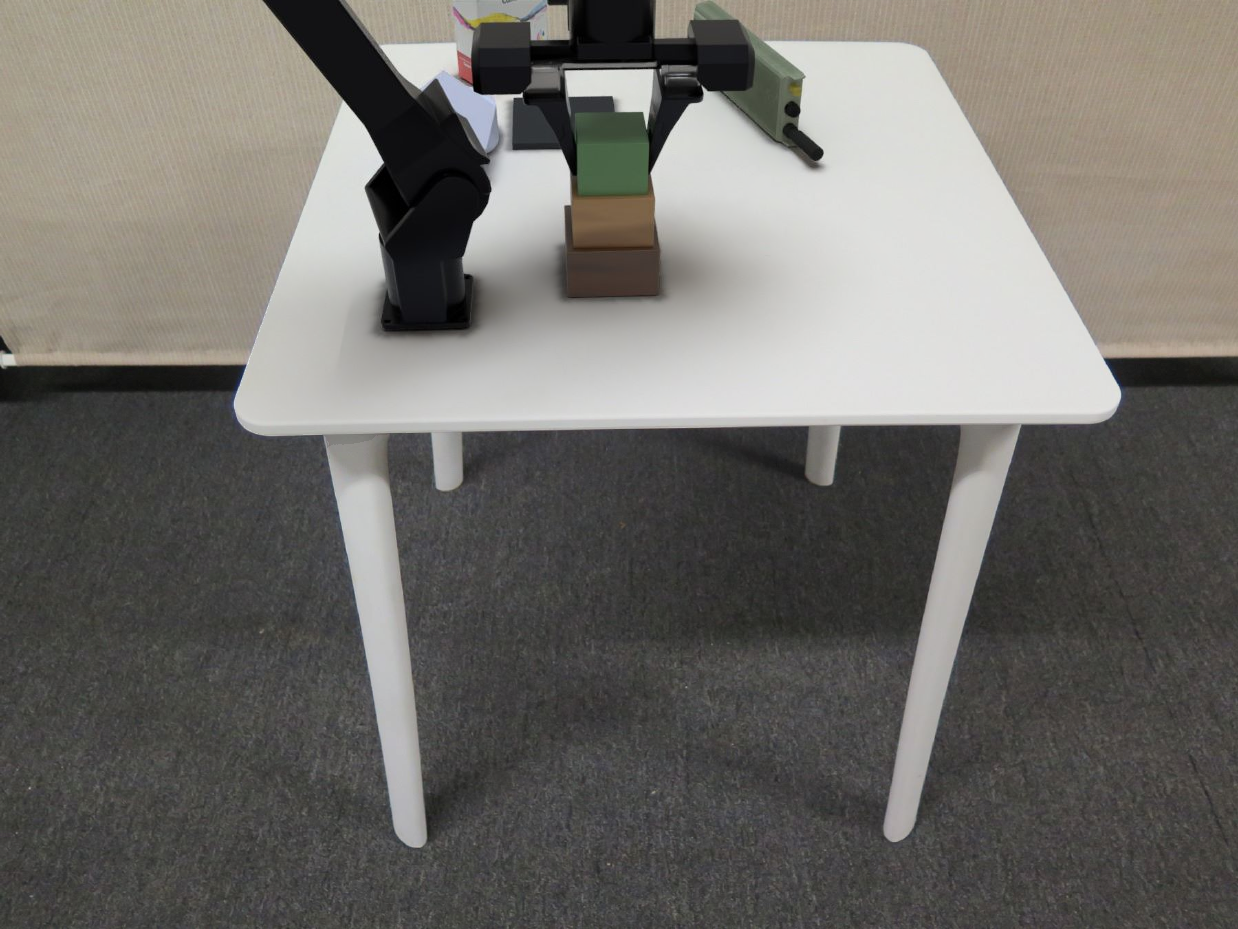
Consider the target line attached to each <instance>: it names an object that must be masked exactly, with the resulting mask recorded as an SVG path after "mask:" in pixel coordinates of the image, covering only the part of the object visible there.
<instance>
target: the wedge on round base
mask: <svg viewBox="0 0 1238 929" xmlns="http://www.w3.org/2000/svg"><path fill="white" fill-rule="evenodd" d="M434 79H438V81H439V82H440V84H441V86H442V88H443V90H444V92H445V94H446V95H447V97H448V99H449V101H450V103H451V105H452V107H453V108H454V109H455V111H456V112H457V113H459V114H460V115H462V116H464V117H465V118H467V119H468V121H469V123H470V125H471V127H472V129H473V130H474V132H475V134H476V136H477V138H478V139H479V141H480V143H481V145H482V147H483V148H484V150H485V152H486V154H487V155H488V154H489V153H491V152H492V151H493V150H494V149H495V148H496V147H497V146H498V143H499V139H500V138H499V136H500V134H499V124H498V109H497V102H496V99H495V98H494V96H493V95H480V94H478V93H476V92H473V86H467V85H466V84H464V83H463V82H462V81H460V80H458V79H457V78H455V76H453V75H451V74H450V73H449V72H447V71H446V70H444V69H443V70H441V72H439V73H437V74H436V75H435V76H434V77H433V78H431V79H430V80H428V81H427V82H426V83H425V84H424V85H422V86H421V87H420V88H419V89H420V90H421V91H423V90H424V89H425V88H426V87H427V86H428V85H429V84H430V83H431V82H432V81H433V80H434Z"/></svg>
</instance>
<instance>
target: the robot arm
mask: <svg viewBox="0 0 1238 929" xmlns="http://www.w3.org/2000/svg"><path fill="white" fill-rule="evenodd" d="M261 1H262V2H263V4H265V6H266V7H267V8H268V10H270V12H271V13H272V14H273V16H274V17H275V18H276V19H277V20H278V21H279V23H280V24H281V25H282V27H283V28H284V29H285V31H287V33H288V34H289V35H290V36H291V37H292V39H293V40H294V41H295V43H296V44H297V45H298V46H299V48H300V49H301V50H302V51H303V53H304V54H305V55H306V56H307V58H308V59H309V60H310V61H311V62H312V63H313V65H314V66H315V68H317V70H318V71H319V72H320V73H321V74H322V76H323V77H324V78H325V79H326V81H327V82H328V83H329V84H330V86H331V87H332V88H333V89H334V90H335V92H336V93H337V94H338V96H339V97H340V98H341V99H342V100H343V102H344V103H345V104H346V105H347V107H348V108H349V109H350V110H351V112H352V113H353V114H354V115H355V116H356V118H357V119H358V120H359V121H360V122H361V123H362V125H363V126H364V128H365V129H366V131H367V133H368V135H369V137H370V139H371V141H372V142H373V145H374V147H375V149H376V150H377V152H378V154H379V156H380V158H381V160H382V162H383V163H382V164H381V165H380V167H379V168H378V169H377V170H376V171H375V173H374V174H373V175H372V176H371V177H370V179H369V180H368V181H367V183H366V184H365V185H364V191H365V192H364V193H365V195H366V197H367V201H368V203H369V206H370V209H371V212H372V215H373V218H374V220H375V224H376V225H377V229H378V243H379V249H380V254H381V261H382V265H383V271H384V277H385V283H386V291H385V295H384V296H385V297H384V301H383V307H382V312H381V318H380V326H381V328H382V329H383V330H387V331H394V330H395V331H396V330H397V331H399V330H424V329H425V330H429V329H430V330H431V329H435V330H436V329H463V328H469V327H470V326H471V322H472V311H473V310H472V309H473V294H474V276H473V275H472V274H471V273H465V272H464V263H463V258H464V256H465V254H466V250H467V246H468V242H469V239H470V236H471V233H472V229H473V225H474V222H476V220H478V218H480V217H481V216H482V214H483V213H484V211H485V209H486V208H487V206H488V205H489V201H490V196H491V193H492V191H493V189H492V183H491V180H490V178H489V176H488V174H487V172H486V169H485V168H484V166H485V165H490V163H491V159H490V158H489V156H488V153H487V154H486V152H485V150H484V148H483V147H482V145H481V143H480V141H479V139H478V138H477V136H476V134H475V132H474V130H473V129H472V127H471V125H470V123H469V121H468V119H467V118H465V117H464V116H462V115H460V114H459V113H457V112H456V111H455V109H454V108H453V107H452V105H451V103H450V101H449V99H448V97H447V95H446V94H445V92H444V90H443V88H442V86H441V84H440V82H439V81H438V79H434V80H433V81H432V82H431V83H430V84H429V85H428V86H427V87H426V88H425V89H424V90H423V91H421V90H420V88H419V87H418V86H416V85H415V84H413V83H412V82H410V80H408V79H407V78H406V77H404V76H403V74H401V73H400V71H399V70H398V69H397V67H396V66H395V65H394V64H393V62H392V61H391V59H390V58H389V57H388V55H387V54H386V52H385V51H384V50H383V49H382V48H381V46H380V45H379V43H378V42H377V40H376V39H375V38H374V37H373V35H372V33H371V32H370V31H369V30H368V28H367V27H366V26H365V25H364V23H363V22H362V20H361V19H360V18H359V16H358V14H356V13H355V11H354V10H353V9H352V7H351V6H350V4H349V3H348V2H347V0H261ZM547 6H551V7H552V6H553V7H555V6H556V7H557V6H560V7H561V6H566V10H567V12H566V14H567V16H566V18H567V32H568V33H569V36H568V37H569V39H548V40H531V26H530V22H481V23H480V24H479V26H478V27H477V28H476V29H475V31H474V32H473V40H472V49H471V70H472V81H473V84H472V87H473V92H476V93H478V94H480V95H491V96H506V95H507V96H508V95H509V96H510V95H511V96H513V95H521V96H522V97H523V103H524V104H525V105H528V106H537V107H538V108H539V109H540V111H541V112H542V114H543V116H544V117H545V119H546V121H547V122H548V124H549V125H550V127H551V129H552V130H553V132H554V134H555V136H556V138H557V140H558V143H559V145H560V147H561V148H560V149H561V152H562V154H563V157H564V159H565V162H566V164H567V167H568V170H569V172H570V171H571V174H572V176H577V151H576V141H575V135H574V129H573V122H572V116H571V109H570V103H569V97H570V96H569V90H568V84H567V75H566V71H571V72H572V71H573V72H574V71H631V70H633V71H634V70H635V71H637V70H642V71H643V70H653V72H652V73H653V74H652V89H651V97H650V98H651V99H650V105H649V111H648V116H647V124H646V129H647V135H648V140H649V161H648V174H650V173H652V171H653V169H654V167H655V165H656V163H657V161H658V159H659V156H660V155H661V153H662V150H663V149H664V146H665V144H666V142H667V140H668V138H669V136H670V135H671V132H672V131H673V130H674V128H675V126H676V125H677V123H678V121H679V120H680V119H681V117H682V116H683V114H684V113H685V112H686V110H687V108H688V107H689V106H690V105H691V104H699V103H701V102H703V101H704V94H705V93H704V92H705V91H704V89H705V90H706V92H722V91H747V90H749V89H750V88H752V87H753V80H754V70H755V51H754V48H753V46H752V43H751V41H750V38H749V36H748V33H747V31H746V29H745V27H746V26H745V27H744V26H743V24H742V23H741V21H740V20H739V19H737V18H735V19H736V20H694V19H689V22H688V26H687V33H686V37H664V38H663V37H662V38H656V20H657V18H656V16H657V0H547ZM522 97H521V98H522Z"/></svg>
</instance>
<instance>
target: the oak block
mask: <svg viewBox="0 0 1238 929" xmlns="http://www.w3.org/2000/svg"><path fill="white" fill-rule="evenodd" d="M651 173H652V172H651ZM651 173H650V174H648V189H647V195H617V196H578V187H577V176H572V174H571V171H570V170H569V192H570V193H569V194H570V197H569V198H570V205H571V222H572V239H573V248H615V247H653V243H654V218H655V219H656V215H655V213H656V195H655V190H654V184H653V179H652V178H653V177H652V174H651Z"/></svg>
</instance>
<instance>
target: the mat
mask: <svg viewBox="0 0 1238 929" xmlns="http://www.w3.org/2000/svg"><path fill="white" fill-rule="evenodd" d="M568 97H569V103H570V109H571V116H572V122H573V129H574V135H575V113H598V112H616V110H615V102H614V96H613V95H596V96H595V95H593V96H591V95H589V96H588V95H586V96H568ZM512 103H513V104H512V137H511V138H512V140H511V143H512V145H511V146H512V150H532V149H533V150H538V149H539V150H540V149H541V150H542V149H543V150H544V149H561V147H560V145H559V143H558V140H557V138H556V136H555V134H554V132H553V130H552V129H551V127H550V125H549V124H548V122H547V121H546V119H545V117H544V116H543V114H542V112H541V111H540V109H539V108H538V107H537V106H528V105H525V104H524V103H523V97H513V102H512Z"/></svg>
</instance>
